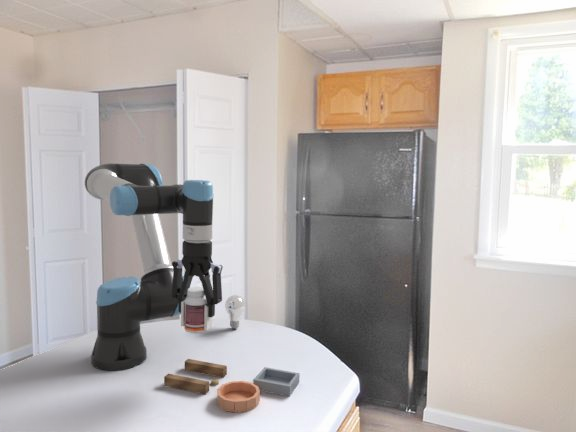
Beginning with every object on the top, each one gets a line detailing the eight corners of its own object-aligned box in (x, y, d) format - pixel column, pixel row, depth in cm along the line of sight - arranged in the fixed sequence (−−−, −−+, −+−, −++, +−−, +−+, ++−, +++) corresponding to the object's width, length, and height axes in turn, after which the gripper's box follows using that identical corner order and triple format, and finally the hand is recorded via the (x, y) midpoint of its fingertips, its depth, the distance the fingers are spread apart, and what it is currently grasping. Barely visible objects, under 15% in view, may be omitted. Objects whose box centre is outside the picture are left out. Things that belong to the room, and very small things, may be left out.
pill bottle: (211, 331, 123) (212, 290, 122) (189, 335, 120) (190, 294, 118) (202, 324, 128) (203, 285, 127) (180, 328, 125) (181, 287, 123)
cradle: (164, 385, 121) (164, 376, 121) (188, 367, 133) (188, 358, 132) (207, 394, 117) (207, 385, 117) (228, 374, 129) (228, 366, 129)
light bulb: (222, 331, 161) (222, 297, 160) (228, 324, 168) (228, 292, 167) (241, 333, 160) (242, 299, 159) (246, 326, 167) (247, 293, 166)
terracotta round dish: (209, 407, 112) (209, 396, 111) (228, 388, 121) (228, 378, 121) (249, 415, 108) (249, 404, 108) (265, 395, 118) (265, 385, 118)
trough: (253, 389, 121) (253, 379, 121) (264, 376, 129) (264, 367, 128) (289, 396, 118) (290, 386, 118) (299, 382, 125) (299, 373, 125)
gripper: (157, 239, 120) (156, 325, 123) (224, 246, 114) (222, 337, 117) (173, 234, 127) (172, 316, 130) (237, 241, 121) (235, 327, 124)
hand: (196, 326), depth 124 cm, fingers closed on pill bottle, 6 cm apart
